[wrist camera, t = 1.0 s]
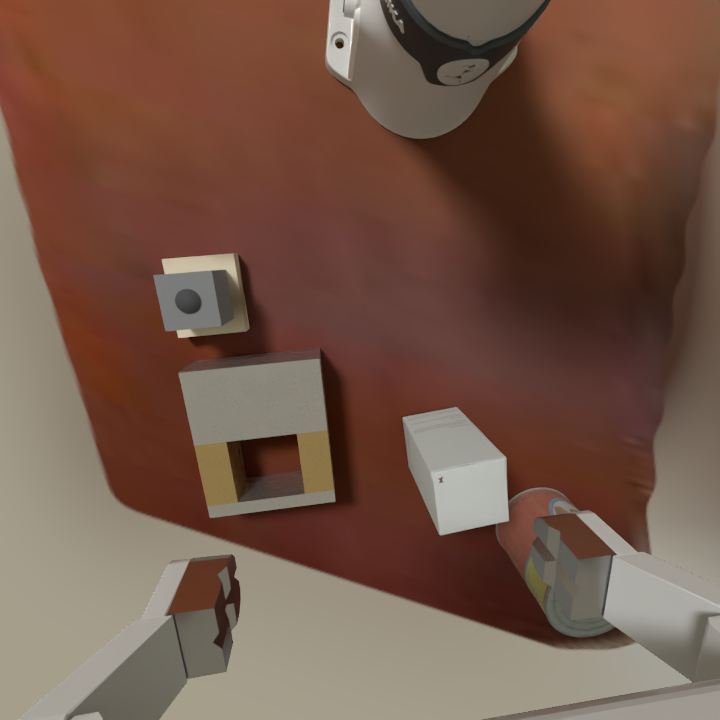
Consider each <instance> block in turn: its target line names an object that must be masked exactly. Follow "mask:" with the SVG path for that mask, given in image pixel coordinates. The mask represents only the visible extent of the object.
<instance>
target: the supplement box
mask: <svg viewBox="0 0 720 720" xmlns="http://www.w3.org/2000/svg"><path fill="white" fill-rule="evenodd" d="M402 419H403V426H404V433H405V441H406V449H407V457H408V464H409V468H410V470H411V473H412V475H413V477H414V479H415V482H416V484H417V486H418V488H419V490H420V493H421V495H422V497H423V500H424V502H425V504H426V506H427V509H428V511H429V513H430V515H431V517H432V520H433V522H434V524H435V526H436V529H437V531H438V533H439V535H445V534H449V533H454V532H459V531H463V530H468V529H473V528H478V527H482V526H487V525H492V524H497V523H502V522H507V521H509V511H508V494H507V458H506V457H505V456H504V455H503V454H502V453H501V452H500V451H499V450H498V449H497V448H496V447H495V446H494V445H493V444H492V443H491V442H490V441H489V440H488V439H487V438H486V436H485V435H484V434H483V433H482V432H481V431H480V430H479V429H478V428H477V427H476V426H475V425H474V424H473V423H472V422H471V421H470V420H469V419H468V418H467V417H466V416H465V415H464V414H463V413H462V412H461V411H460V410H459V409H458V408H457V407H454V408H449V409H443V410H438V411H433V412H428V413H422V414H417V415H412V416H407V417H403V418H402Z"/></svg>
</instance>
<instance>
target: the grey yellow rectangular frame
mask: <svg viewBox="0 0 720 720" xmlns="http://www.w3.org/2000/svg"><path fill="white" fill-rule="evenodd" d="M179 378H180V382H181V387H182V391H183V396H184V401H185V405H186V410H187V415H188V419H189V424H190V428H191V433H192V438H193V442H194V447H195V451H196V456H197V461H198V465H199V470H200V475H201V479H202V484H203V488H204V493H205V498H206V502H207V507H208V511H209V516H210V518H214V517H222V516H229V515H237V514H245V513H252V512H260V511H268V510H275V509H283V508H291V507H298V506H306V505H314V504H321V503H329V502H336V500H335V481H334V470H333V461H332V452H331V443H330V434H329V425H328V416H327V407H326V398H325V389H324V380H323V371H322V362H321V353H320V348H313V349H303V350H293V351H283V352H273V353H263V354H253V355H243V356H233V357H223V358H213V359H203V360H195V361H194V362H192V363H191V364H190V365H188V366H187V367H186V368H184V369H183V370H182V371H180V372H179ZM291 434H297V439H298V447H299V454H300V461H301V469H302V471H295V472H286V473H278V474H270V475H262V476H254V477H247V475H246V470H245V464H244V459H243V453H242V448H241V442H240V440H248V439H256V438H265V437H273V436H282V435H291Z"/></svg>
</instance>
